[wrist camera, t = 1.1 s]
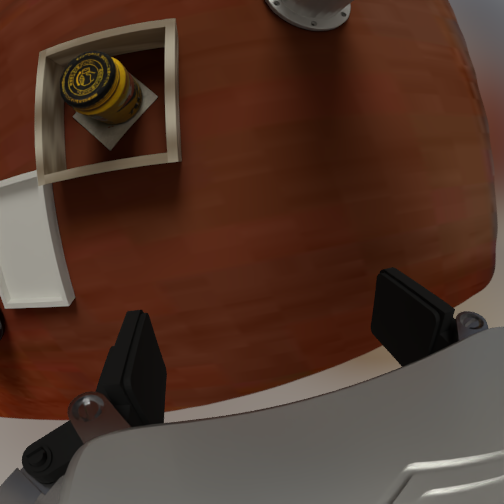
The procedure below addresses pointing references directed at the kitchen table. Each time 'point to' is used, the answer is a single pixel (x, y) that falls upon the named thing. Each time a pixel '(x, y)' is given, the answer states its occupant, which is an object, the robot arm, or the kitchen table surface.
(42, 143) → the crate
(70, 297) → the tray
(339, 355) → the kitchen table surface
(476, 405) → the robot arm
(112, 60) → the condiment
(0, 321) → the supplement container
